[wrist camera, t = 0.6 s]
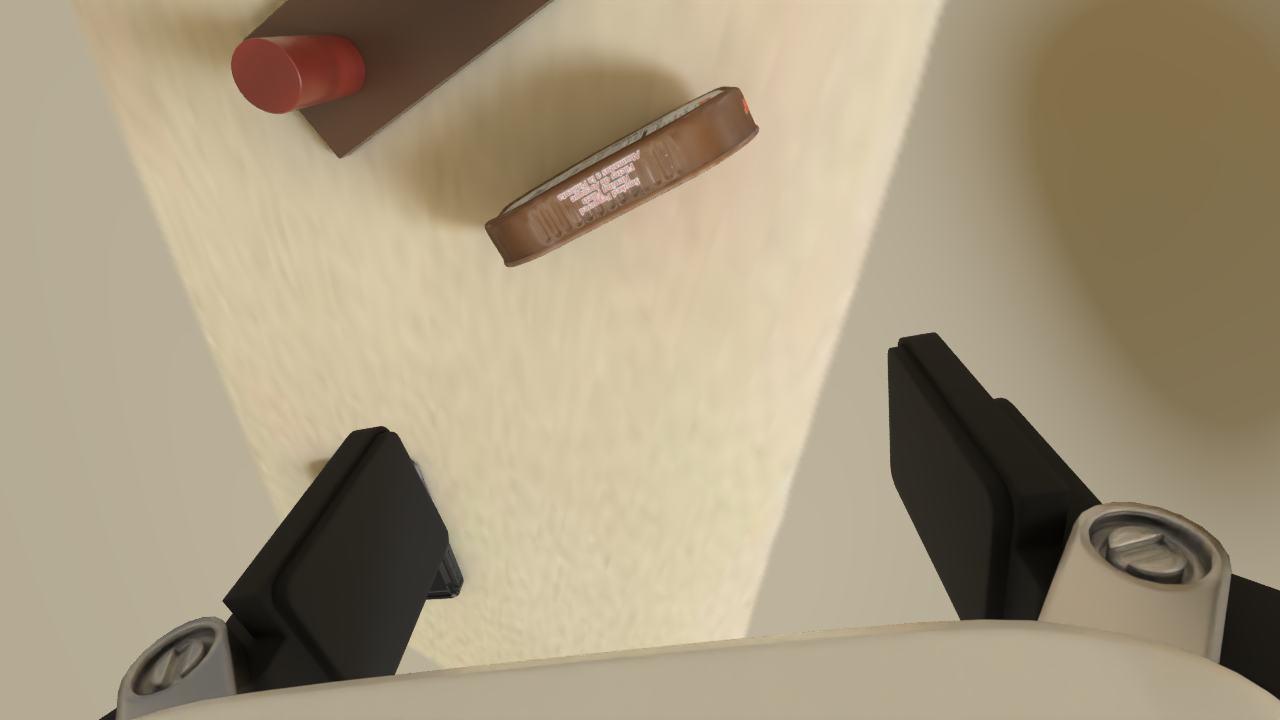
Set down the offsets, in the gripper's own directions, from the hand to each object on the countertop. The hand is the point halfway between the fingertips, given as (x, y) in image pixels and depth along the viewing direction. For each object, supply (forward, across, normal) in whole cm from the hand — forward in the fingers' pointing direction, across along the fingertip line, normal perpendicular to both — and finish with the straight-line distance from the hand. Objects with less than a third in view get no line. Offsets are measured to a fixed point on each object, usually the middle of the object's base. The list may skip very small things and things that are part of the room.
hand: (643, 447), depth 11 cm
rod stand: (+27, +11, -10) cm, 31 cm away
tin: (+27, +2, 0) cm, 27 cm away
